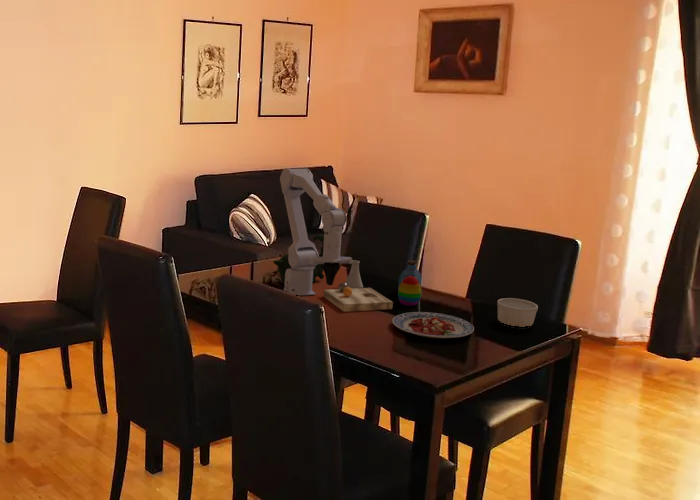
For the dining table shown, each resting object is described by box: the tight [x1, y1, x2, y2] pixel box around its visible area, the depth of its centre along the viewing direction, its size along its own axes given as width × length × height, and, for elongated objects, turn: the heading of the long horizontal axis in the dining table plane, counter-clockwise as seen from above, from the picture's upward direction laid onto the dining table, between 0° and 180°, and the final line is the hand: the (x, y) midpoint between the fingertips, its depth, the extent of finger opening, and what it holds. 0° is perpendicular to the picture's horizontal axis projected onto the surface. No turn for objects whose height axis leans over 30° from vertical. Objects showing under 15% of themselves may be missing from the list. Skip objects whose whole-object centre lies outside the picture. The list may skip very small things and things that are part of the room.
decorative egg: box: [397, 276, 422, 307], centre depth 281 cm, size 8×8×10 cm
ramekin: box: [496, 297, 539, 327], centre depth 268 cm, size 13×13×7 cm
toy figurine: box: [272, 233, 325, 284], centre depth 298 cm, size 9×19×25 cm
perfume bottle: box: [397, 259, 422, 290], centre depth 295 cm, size 6×6×12 cm
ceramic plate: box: [391, 311, 475, 340], centre depth 254 cm, size 26×26×3 cm
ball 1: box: [338, 281, 348, 291], centre depth 281 cm, size 3×3×3 cm
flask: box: [344, 259, 364, 289], centre depth 297 cm, size 7×7×10 cm
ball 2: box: [343, 287, 352, 296], centre depth 276 cm, size 3×3×3 cm
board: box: [322, 287, 394, 313], centre depth 278 cm, size 18×18×2 cm
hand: (329, 284), depth 272 cm, fingers closed
